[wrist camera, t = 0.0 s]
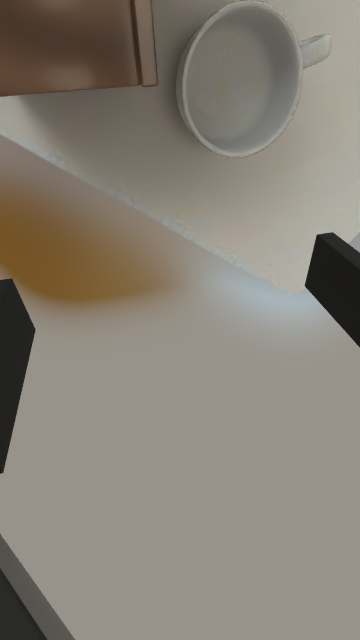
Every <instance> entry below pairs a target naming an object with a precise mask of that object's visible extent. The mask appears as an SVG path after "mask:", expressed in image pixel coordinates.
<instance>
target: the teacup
mask: <svg viewBox="0 0 360 640" xmlns="http://www.w3.org/2000/svg"><path fill="white" fill-rule="evenodd" d="M330 52H331V40H330V37H329V35H327V34H323V35H319V36H315V37H312V38H309V39H307V40H304V41H301V42H298V39H297V37H296V34H295V32H294V30H293V28H292V26H291V24H290V23H289V22H288V20H287V19H286V18H285V16H284V15H283V14H282V13H281V12H279V11H278V10H277V9H276V8H274V7H273V6H271V5H269V4H267V3H264V2H261V1H256V0H247V1H239V2H235V3H232V4H229V5H227V6H225V7H223V8H221V9H220V10H218V11H217V12H216V13H214V14H213V15H212V16H211V17H210V18H209V19H208V20H207V21H206V22H205V23H204V24H203V25H202V26H201V27H200V28H199V29H198V30H197V31H196V32H195V34H194V35H193V36H192V38H191V39H190V40H189V42H188V44H187V46H186V47H185V49H184V51H183V54H182V56H181V59H180V62H179V65H178V70H177V76H176V97H177V103H178V107H179V111H180V114H181V116H182V118H183V120H184V122H185V124H186V126H187V127H188V129H189V130H190V131H191V132H192V134H193V135H194V136H195V137H196V138H197V139H198V141H199V142H200V143H201V144H202V145H204V146H205V147H206V148H208V149H209V150H211V151H212V152H214V153H216V154H219V155H221V156H225V157H232V158H237V157H246V156H249V155H253V154H255V153H258V152H259V151H261V150H263V149H264V148H265V147H267V146H268V145H270V144H271V143H273V141H275V140H276V139H277V138H278V137H279V136H280V134H281V133H282V132H283V131H284V129H285V128H286V126H287V125H288V123H289V122H290V120H291V118H292V116H293V114H294V112H295V109H296V107H297V104H298V101H299V97H300V92H301V85H302V75H303V69H305V68H307V67H309V66H312V65H314V64H317V63H319V62H321V61H323V60H324V59H326V58H327V57H328V56H329V54H330Z"/></svg>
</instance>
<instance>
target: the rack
mask: <svg viewBox="0 0 360 640" xmlns="http://www.w3.org/2000/svg"><path fill="white" fill-rule="evenodd" d="M139 85H141V86H142V87H151V86H157V85H158V78H157V65H156V52H155V40H154V27H153V14H152V1H151V0H0V97H3V96H15V95H28V94H40V93H52V92H65V91H77V90H90V89H102V88H114V87H127V86H139Z"/></svg>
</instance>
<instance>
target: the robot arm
mask: <svg viewBox="0 0 360 640" xmlns="http://www.w3.org/2000/svg"><path fill="white" fill-rule="evenodd" d="M305 287H306V288H307V289H308V290H309V291H310V292H311V293H312V295H313V296H314V297H315V298H316V299H317V300H318V301H319V302H320V304H322V306H323V307H324V308H325V309H326V310H327V311H328V312H329V314H330V315H331V316H332V317H333V318H334V319H335V320H336V321H337V323H338V324H339V325H340V326H341V327H342V328H343V329H344V330H345V331H346V332H347V334H348V335H349V336H350V337H351V338H352V339H353V340H354V341H355V343H356V344H357V345H358V346H359V347H360V253H359V252H358V251H357V250H355V249H354V248H353V247H351V246H350V245H349V244H347V243H346V242H345V241H343V240H342V239H341V238H339V237H338V236H337V235H336V234H334V233H333V232H332V233H325V234H318V235H317V236H316V240H315V245H314V249H313V253H312V257H311V261H310V266H309V270H308V274H307V278H306V282H305ZM34 334H35V328H34V325H33V323H32V321H31V319H30V317H29V314H28V312H27V310H26V308H25V306H24V304H23V302H22V299H21V297H20V295H19V293H18V290H17V288H16V286H15V284H14V282H13V280H12V279H4V280H0V474H1V473H3V471H4V467H5V462H6V457H7V453H8V449H9V445H10V440H11V436H12V431H13V427H14V423H15V418H16V414H17V409H18V405H19V400H20V396H21V392H22V387H23V383H24V378H25V374H26V369H27V365H28V361H29V356H30V352H31V347H32V343H33V338H34ZM0 640H75V639H74V638H73V636H72V635H71V633H70V632H69V631H68V629H67V628H66V626H65V625H64V623H63V622H62V621H61V619H60V618H59V616H58V615H57V614H56V612H55V611H54V609H53V608H52V607H51V605H50V604H49V602H48V601H47V600H46V598H45V597H44V595H43V594H42V593H41V591H40V590H39V588H38V587H37V585H36V584H35V582H34V581H33V580H32V578H31V577H30V575H29V574H28V573H27V571H26V570H25V568H24V567H23V566H22V564H21V563H20V561H19V560H18V558H17V557H16V556H15V554H14V553H13V551H12V550H11V549H10V547H9V546H8V544H7V543H6V542H5V540H4V539H3V538H2V536H1V534H0Z"/></svg>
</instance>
